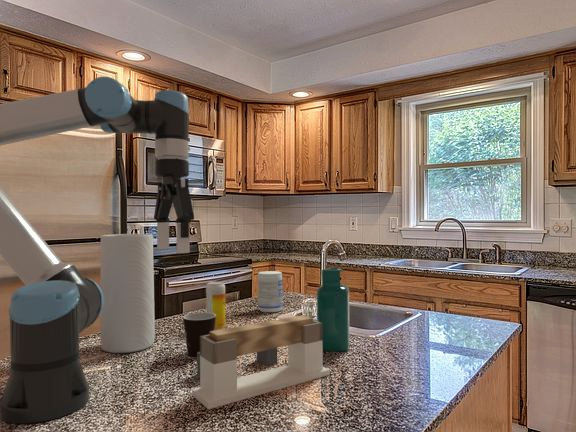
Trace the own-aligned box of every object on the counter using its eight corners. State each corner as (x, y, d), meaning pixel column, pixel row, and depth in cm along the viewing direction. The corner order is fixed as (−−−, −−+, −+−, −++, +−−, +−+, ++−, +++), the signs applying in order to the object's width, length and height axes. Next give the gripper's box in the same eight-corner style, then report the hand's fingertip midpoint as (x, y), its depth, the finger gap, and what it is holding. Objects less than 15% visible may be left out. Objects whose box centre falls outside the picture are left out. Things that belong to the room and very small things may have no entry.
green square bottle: (320, 341, 124) (319, 265, 124) (349, 343, 123) (349, 266, 122) (315, 352, 115) (315, 270, 115) (347, 354, 113) (346, 270, 113)
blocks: (206, 380, 95) (205, 358, 95) (197, 373, 100) (197, 352, 100) (277, 363, 106) (277, 343, 106) (266, 357, 110) (266, 338, 110)
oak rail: (217, 360, 85) (217, 335, 85) (209, 355, 88) (209, 331, 88) (313, 339, 98) (312, 318, 98) (303, 336, 101) (303, 315, 101)
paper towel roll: (95, 356, 113) (94, 236, 113) (106, 341, 127) (105, 234, 127) (152, 352, 116) (151, 235, 116) (157, 337, 130) (156, 233, 130)
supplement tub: (284, 312, 162) (284, 273, 162) (260, 313, 160) (259, 274, 160) (280, 307, 172) (279, 270, 172) (256, 308, 170) (256, 271, 170)
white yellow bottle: (229, 328, 140) (229, 282, 140) (216, 332, 135) (216, 285, 135) (215, 326, 143) (215, 281, 143) (202, 330, 138) (202, 283, 138)
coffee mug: (209, 360, 109) (208, 320, 109) (177, 358, 111) (177, 319, 111) (224, 346, 121) (224, 310, 121) (196, 344, 122) (195, 309, 122)
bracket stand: (208, 409, 81) (207, 346, 81) (192, 395, 88) (191, 336, 88) (329, 374, 98) (329, 322, 98) (308, 364, 105) (308, 315, 105)
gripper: (209, 154, 92) (209, 253, 92) (170, 165, 112) (170, 247, 112) (175, 151, 87) (175, 255, 87) (140, 164, 108) (141, 248, 108)
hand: (172, 251), depth 100 cm, fingers open, 13 cm apart
